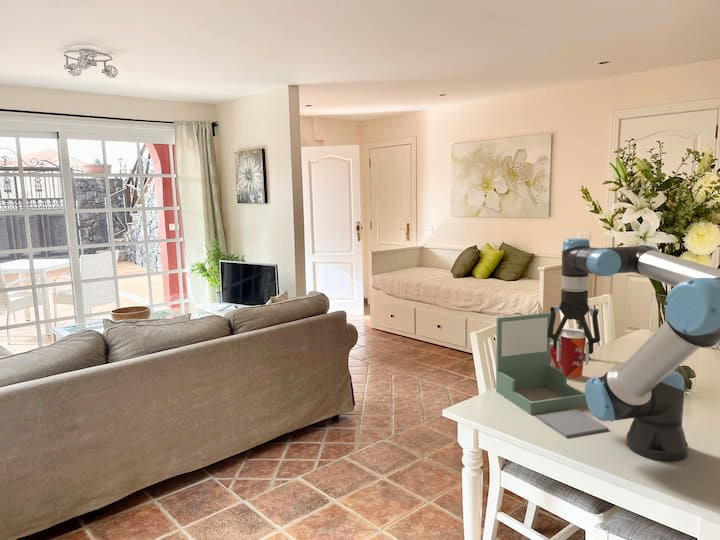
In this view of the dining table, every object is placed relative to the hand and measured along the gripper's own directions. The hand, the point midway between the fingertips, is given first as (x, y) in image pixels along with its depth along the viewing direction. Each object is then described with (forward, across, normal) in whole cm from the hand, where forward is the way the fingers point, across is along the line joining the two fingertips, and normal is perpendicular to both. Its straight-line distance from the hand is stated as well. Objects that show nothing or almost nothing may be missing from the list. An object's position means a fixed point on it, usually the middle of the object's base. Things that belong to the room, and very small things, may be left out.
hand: (572, 361), depth 160 cm
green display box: (+20, +13, -17) cm, 29 cm away
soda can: (+20, +12, -46) cm, 52 cm away
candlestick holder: (+20, +6, -72) cm, 75 cm away
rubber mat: (+20, 0, 0) cm, 20 cm away
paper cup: (+4, 0, 0) cm, 4 cm away
